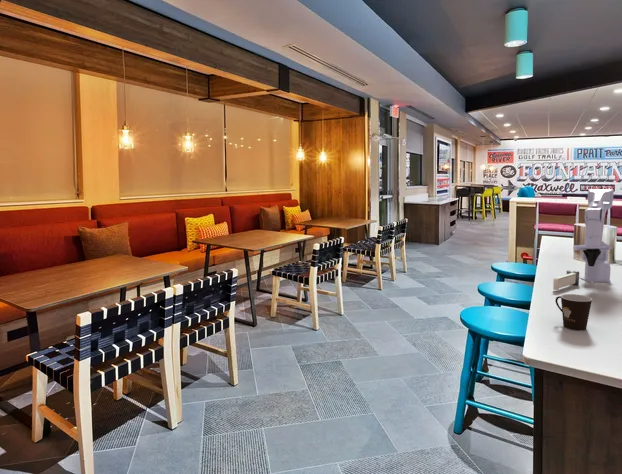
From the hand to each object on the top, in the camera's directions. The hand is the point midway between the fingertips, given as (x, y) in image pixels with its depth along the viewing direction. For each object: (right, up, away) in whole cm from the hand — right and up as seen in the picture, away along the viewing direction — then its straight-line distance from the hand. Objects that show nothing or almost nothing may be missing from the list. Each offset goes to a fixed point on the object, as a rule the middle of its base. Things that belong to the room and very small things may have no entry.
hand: (591, 266), depth 183 cm
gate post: (-3, -8, +9) cm, 12 cm away
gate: (-11, -9, 0) cm, 15 cm away
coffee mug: (-36, -17, -45) cm, 60 cm away
